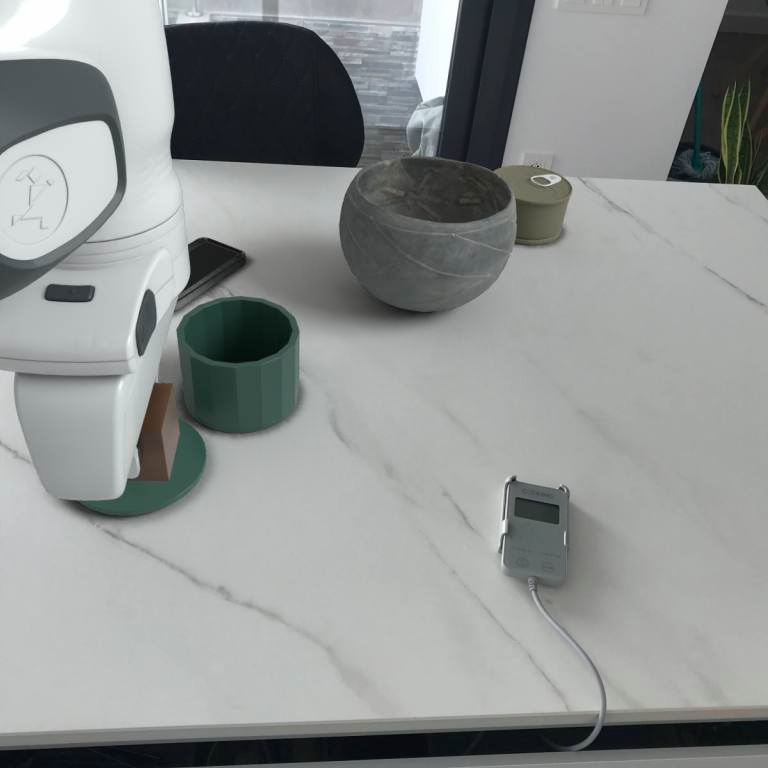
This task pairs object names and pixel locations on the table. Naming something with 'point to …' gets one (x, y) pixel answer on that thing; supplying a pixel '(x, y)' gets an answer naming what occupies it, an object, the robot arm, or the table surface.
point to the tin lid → (159, 493)
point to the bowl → (427, 231)
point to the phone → (208, 266)
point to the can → (537, 202)
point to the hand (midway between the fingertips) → (136, 437)
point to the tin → (239, 363)
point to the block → (159, 435)
